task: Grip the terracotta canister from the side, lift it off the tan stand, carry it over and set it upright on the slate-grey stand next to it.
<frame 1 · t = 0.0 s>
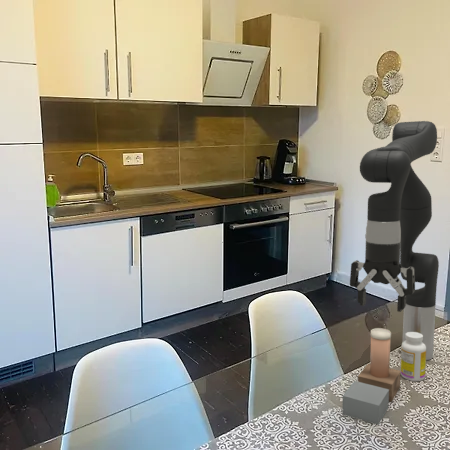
hand: (380, 307, 110), 29 cm above the table, tool pointing down, fingers open, 8 cm apart
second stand: (365, 410, 121), on the table
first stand: (379, 390, 130), on the table
canister: (379, 373, 130), point 5 cm above the table, touching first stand
supplement bottle: (412, 377, 138), on the table
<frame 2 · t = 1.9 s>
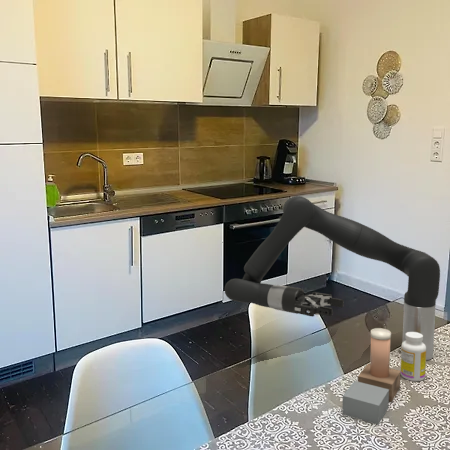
hand: (338, 307, 133), 22 cm above the table, tool horizontal, fingers open, 8 cm apart
nothing on the table moved.
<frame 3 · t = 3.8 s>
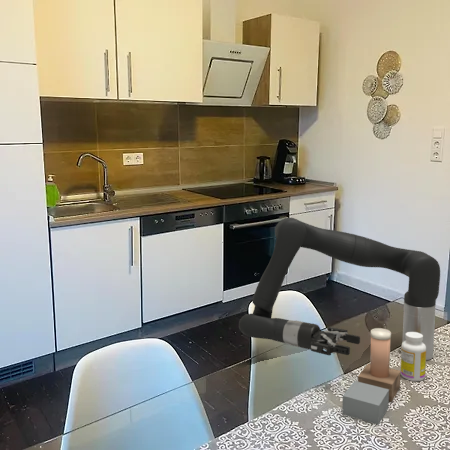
hand: (354, 345, 132), 11 cm above the table, tool horizontal, fingers open, 8 cm apart
nothing on the table moved.
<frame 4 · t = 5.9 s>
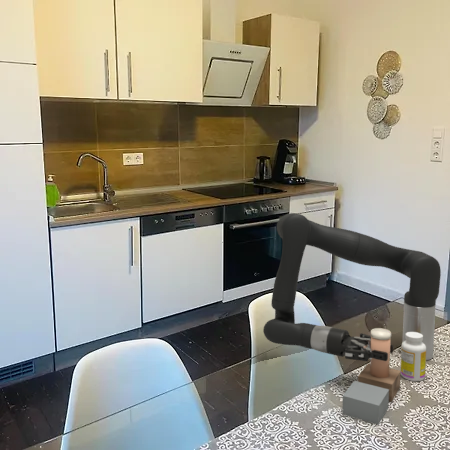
hand: (390, 353, 127), 12 cm above the table, tool horizontal, fingers closed on canister, 5 cm apart
canister: (379, 373, 130), point 5 cm above the table, touching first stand, gripper
everything else where it was.
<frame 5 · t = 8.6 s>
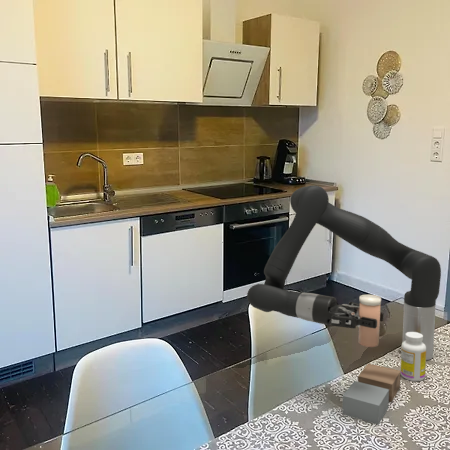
hand: (379, 320, 118), 23 cm above the table, tool horizontal, fingers closed on canister, 5 cm apart
canister: (368, 342, 121), point 17 cm above the table, touching gripper
everything else where it was.
when the fingers open (12 cm above the table, at t = 11.5 s): canister stays where it is, resting on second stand.
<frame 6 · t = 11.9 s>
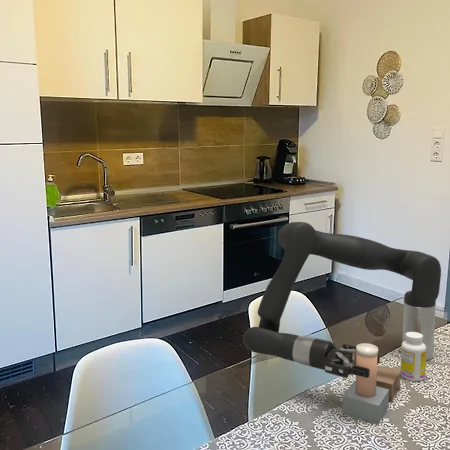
hand: (374, 366, 117), 12 cm above the table, tool horizontal, fingers open, 8 cm apart
canister: (365, 392, 120), point 5 cm above the table, touching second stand
everything else where it was.
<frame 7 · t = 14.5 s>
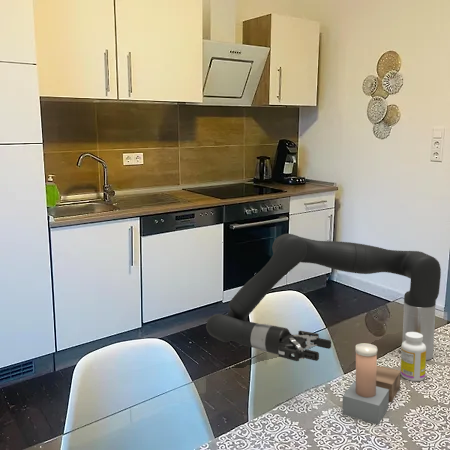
hand: (324, 350, 125), 14 cm above the table, tool horizontal, fingers open, 8 cm apart
nothing on the table moved.
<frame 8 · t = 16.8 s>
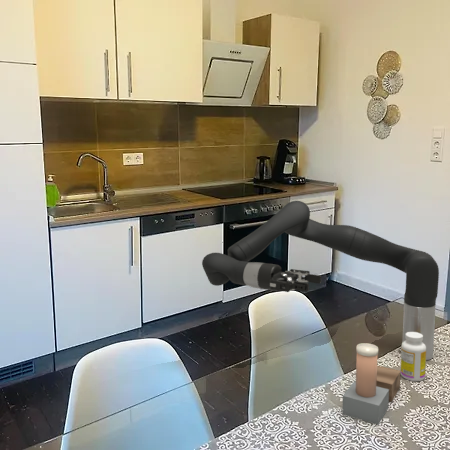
hand: (314, 283, 129), 30 cm above the table, tool horizontal, fingers open, 8 cm apart
nothing on the table moved.
at the end: canister 0.1 cm off-centre on the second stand, point 5.0 cm above the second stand's base; canister tilted 1°; the gripper is holding nothing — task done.
